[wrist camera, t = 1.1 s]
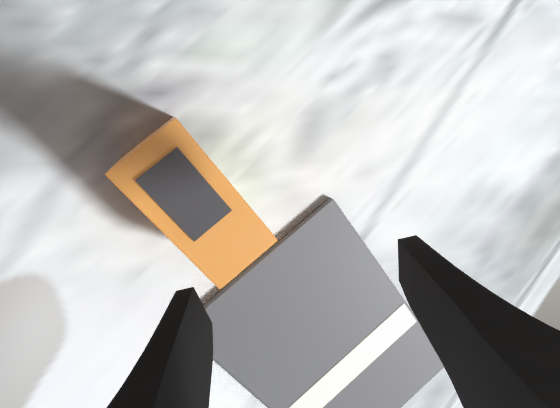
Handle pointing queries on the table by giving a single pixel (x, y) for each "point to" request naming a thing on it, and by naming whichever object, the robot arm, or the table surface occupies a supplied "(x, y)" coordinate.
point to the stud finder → (192, 202)
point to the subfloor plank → (320, 324)
